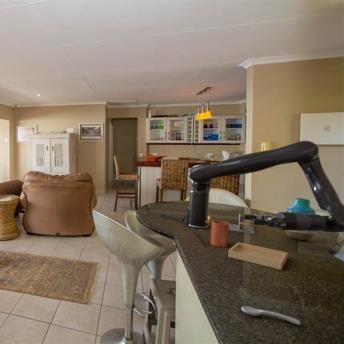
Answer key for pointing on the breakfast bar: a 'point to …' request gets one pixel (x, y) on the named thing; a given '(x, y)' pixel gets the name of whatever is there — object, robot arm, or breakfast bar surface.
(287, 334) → the breakfast bar surface
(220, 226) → the cup
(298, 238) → the vase
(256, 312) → the spoon
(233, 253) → the tray
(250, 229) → the architectural model
